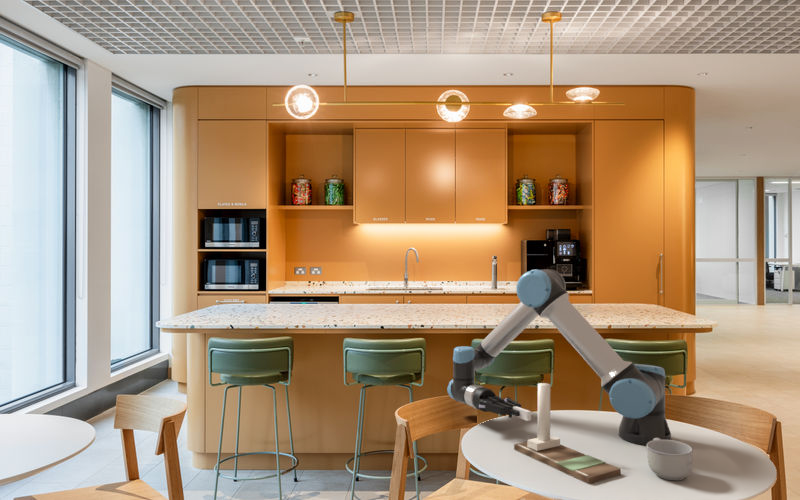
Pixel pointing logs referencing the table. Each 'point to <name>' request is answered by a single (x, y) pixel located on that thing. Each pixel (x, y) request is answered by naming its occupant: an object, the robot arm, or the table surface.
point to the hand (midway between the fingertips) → (529, 416)
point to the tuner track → (571, 462)
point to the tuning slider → (543, 422)
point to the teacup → (669, 458)
